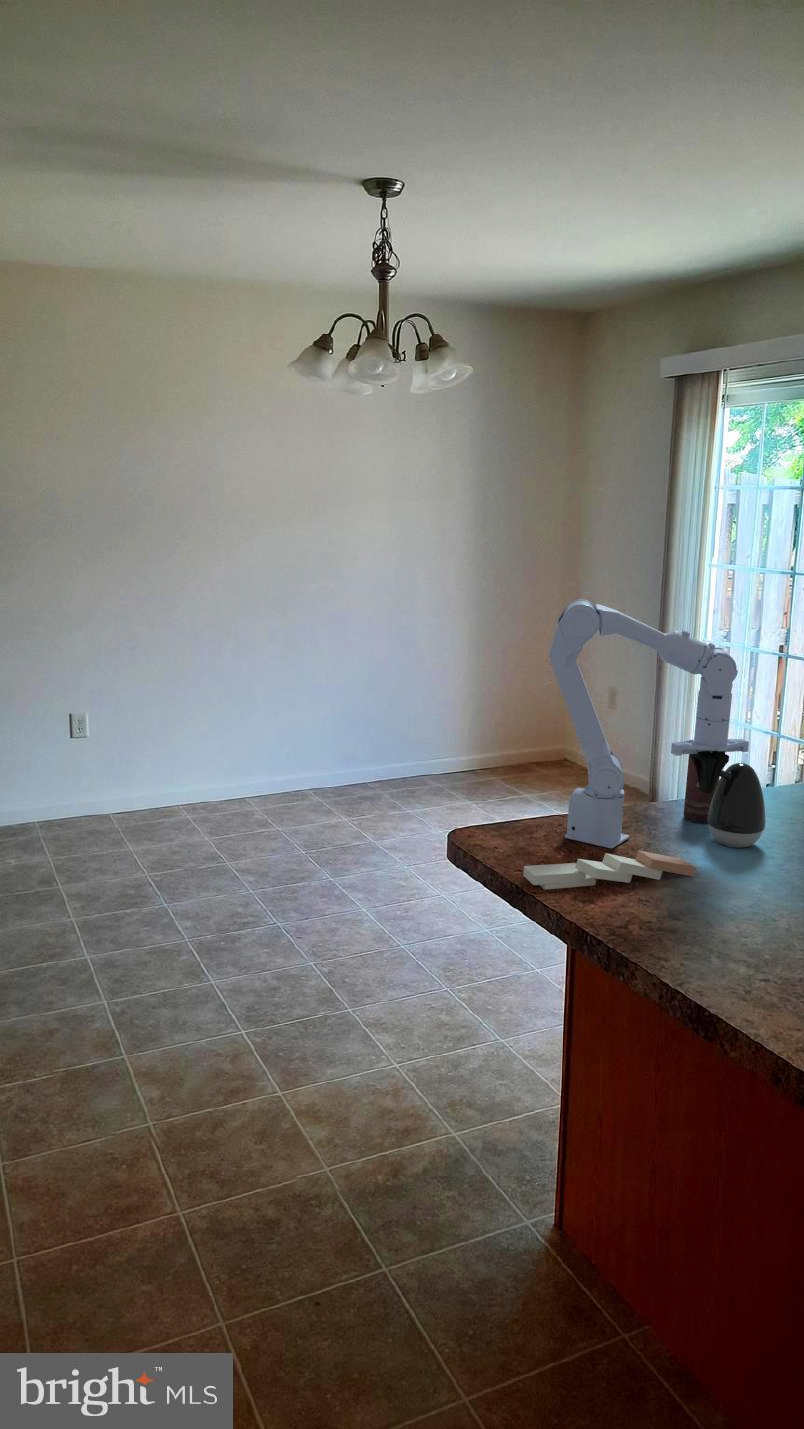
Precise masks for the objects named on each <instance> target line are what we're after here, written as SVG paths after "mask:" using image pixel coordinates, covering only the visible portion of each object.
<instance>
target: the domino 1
mask: <svg viewBox="0 0 804 1429" xmlns="http://www.w3.org/2000/svg"><path fill="white" fill-rule="evenodd" d="M576 863H577V862H570V863H568V862H567V863H553V864H539V865H538V864H537V865H535V864H534V865H525V866H523V876H524V877H525V879H526V880H528V881H529V883H530V884H532V885H533V886H540V885H542V884H557V883H572V882H585V880H586V874H585V873H583V872H582V871H580V870H578V869H576V868H575V866H576Z"/></svg>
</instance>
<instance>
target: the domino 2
mask: <svg viewBox="0 0 804 1429" xmlns="http://www.w3.org/2000/svg"><path fill="white" fill-rule="evenodd" d="M596 881H597V879H596V878H593V877H591V876H589V875H587V874H586V880H585V882H572V883H557V884H542V885H539V887H541V888H542V889H543V890H554V889H566V888H567V889H568V888H578V887H579V888H580V887H588V886H589V887H591V886H596V883H597V882H596Z"/></svg>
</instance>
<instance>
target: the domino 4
mask: <svg viewBox="0 0 804 1429" xmlns="http://www.w3.org/2000/svg"><path fill="white" fill-rule="evenodd" d="M601 862H603V863H605V864H606V865H608V866H610V867H611V868H613V869H615V870H617V871H619V872H624V873H629V874H633V875H634V876H639V877H644V878H649V879H653V880H657V881H659V880H661V878H662V875H663V872H664V871H661V870H656V869H651V868H648V867H647V866H645V865H644V864H642V863H640V862H639V861H637V860H636V859H635V858H629V857H625V856H620V855H616V854H611V853H606V852H605V853H604V856H603V859H602V861H601ZM633 875H632V876H633Z"/></svg>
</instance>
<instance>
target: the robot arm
mask: <svg viewBox="0 0 804 1429" xmlns="http://www.w3.org/2000/svg"><path fill="white" fill-rule="evenodd" d="M598 631H599V634H600V636H601V637H603V636H604V637H605V636H608V635H614V634H617V635H620V636H622V637H624V638H627V639H629V640H632V641H635V642H636V643H640V644H642V645H644V646H646V647H649V648H652V649H654V650H657V652H658V654H659V658H660V661H663V662H665V663H668V664H670V665H672V666H674V667H676V668H678V669H680V670H682V671H686V672H687V673H689V674H692V675H701V677H700V684H699V690H698V692H697V703H696V714H695V715H696V716H695V727H694V736H693V737H694V738H693V739H688V740H684V741H676V742H675V741H674V742H671V746H670V747H671V748H670V749H671V750H670V753H671V754H672V755H674V756H682V755H689V754H690V757H691V759H692V761H693V763H694V766H695V769H696V772H697V776H698V781H699V788H700V791H702V792H704V793H706V794H707V793H712V792H713V789H714V786H715V784H716V781H717V779H718V777H719V775H720V773H721V771H722V770H723V769H724V768H725V767H726V765H727V764H728V762H729V760H730V756H729V754H726V753H732V752H742V753H749V746H750V741H749V740H745V739H743V738H737V739H736V738H729V730H730V722H731V721H730V720H731V709H732V700H733V693H732V690H733V682H734V681H735V679H736V678H737V676H738V673H739V670H737V664H736V661H735V660H734V658H733V657H732V656H731V655H730V654H729V653H728V652H727V651H725V650H723V649H722V648H721V647H716V644H714V643H712V642H709V643H708V644H707V643H705V642H703V641H701V640H699V639H696V638H694V637H692V636H690V635H691V633H690V632H689V631H687V630H685V629H682V631H678V630H673V631H672V630H671V631H670V632H667V633H664V632H662V631H660V630H658V629H656V628H654V627H652V626H650V625H648V624H646V623H644V622H641V620H637V619H636V618H633V617H631V616H629V615H627V614H625V613H623V612H621V611H619V610H616V609H614V608H611V607H608V606H605V605H603V604H599V603H595V605H594V603H593V602H591V601H589V600H587V599H585V598H584V599H583V598H581V599H580V598H579V599H575V600H572V601H570V602H569V603H568V604H567V605H566V606H565V608H564V609H563V611H562V612H561V614H560V615H559V617H557V622H556V627H555V630H554V634H553V637H552V641H551V645H550V649H549V655H548V657H549V658H548V659H549V663H550V666H551V668H552V670H553V673H554V676H555V679H556V681H557V684H558V686H559V689H560V692H561V694H562V697H563V700H564V703H565V706H566V708H567V710H568V714H569V716H570V718H571V721H572V724H573V726H574V729H575V732H576V735H577V738H578V740H579V742H580V745H581V748H582V751H583V754H584V758H585V761H586V765H587V772H588V781H587V782H588V783H587V784H586V785H585V786H584V788H583V787H577V788H575V789H574V790H573V792H572V793H571V795H570V798H569V801H568V810H567V812H568V813H567V825H566V826H567V828H566V829H567V830H566V834H565V835H564V837H565V838H566V839H569V840H573V841H578V842H581V843H586V844H590V845H595V846H598V847H603V848H607V849H614V848H615V847H617V846H618V845H620V844H622V843H623V842H625V841H626V840H628V839H629V838H630V835H629V834H626V833H625V834H624V833H622V829H623V817H624V816H623V815H624V803H625V801H624V800H625V790H624V789H623V788H624V786H625V774H624V772H623V766H622V761H621V759H620V758H619V757H618V755H617V754H615V753H614V752H613V750H612V749H611V746H610V744H609V742H608V739H607V737H606V735H605V732H604V729H603V726H602V725H601V722H600V718H599V716H598V713H597V711H596V708H595V705H594V702H593V699H592V698H591V695H590V691H589V688H588V686H587V684H586V681H585V679H584V676H583V673H582V670H581V668H580V665H579V663H578V662H579V661H578V659H577V658H578V657H579V655H580V653H581V652H582V650H583V648H584V646H585V645H586V644H587V642H588V641H590V640H591V639H592V638H593V637H594V636H595V635H596V633H597V632H598Z"/></svg>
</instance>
